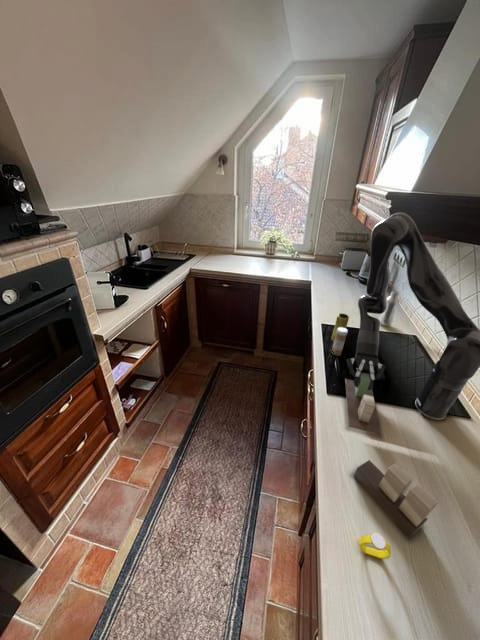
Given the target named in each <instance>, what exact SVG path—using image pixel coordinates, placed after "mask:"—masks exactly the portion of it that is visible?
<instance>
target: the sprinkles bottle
mask: <svg viewBox="0 0 480 640" xmlns="http://www.w3.org/2000/svg"><path fill="white" fill-rule="evenodd" d="M348 330H349V329H347V327H346V328H343V327H339V328H337V333H336V337H335V341H334V342H333V344H332V350H331V354H332V355H333V356H335V357H339V356H341V355H342V351H343V350H344V345H345V342H346V338H347V335H348V332H349V331H348ZM332 351H333V352H334V353H333V352H332Z"/></svg>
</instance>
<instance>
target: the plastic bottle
mask: <svg viewBox="0 0 480 640" xmlns="http://www.w3.org/2000/svg"><path fill="white" fill-rule="evenodd" d="M400 294H401V293H400V292H399V291H397V290H392V291H391V293H390V295H389V296H388V297H386V299H387V309H386V311H385V312H383V313H382V314H380V317H379V318H378V319H379V321H380V325H381V326H385V327H389V326H392V324H393V322H394V321H393V320H394V315H395V312H396V310H397V308H398V306H399V304H400V298H399V297H400Z"/></svg>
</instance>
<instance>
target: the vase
mask: <svg viewBox="0 0 480 640" xmlns="http://www.w3.org/2000/svg"><path fill="white" fill-rule="evenodd" d="M349 319H350V316H349V315H348V314H347V313H338V314H337V317H336V320H335V323H334V328H333V331H332V334H331V337H330V340H331V341H332V342H333V343H334V341H335V337H336V333H337V328H339V327H343V328H346V329H347V326H348V323H349Z"/></svg>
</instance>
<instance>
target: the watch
mask: <svg viewBox="0 0 480 640" xmlns="http://www.w3.org/2000/svg"><path fill="white" fill-rule="evenodd" d="M358 542H359V548H360V550H361V552H363V553H364V554H366V555H368V556H372V557H373V558H374V557H375V558H377V559H385V560H386V559H389V558H390V557H391V556H392V552H391V546H390V544H389V543H388V542H387V541H386V540H385V538H384V537H383V536H382V534H380V533H378V532H373V533H371V535H368V534H367V535H363V536H360V537H359V540H358ZM367 544H370V545H372V546H373V547H374V548H373V547H370V546H367Z"/></svg>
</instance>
